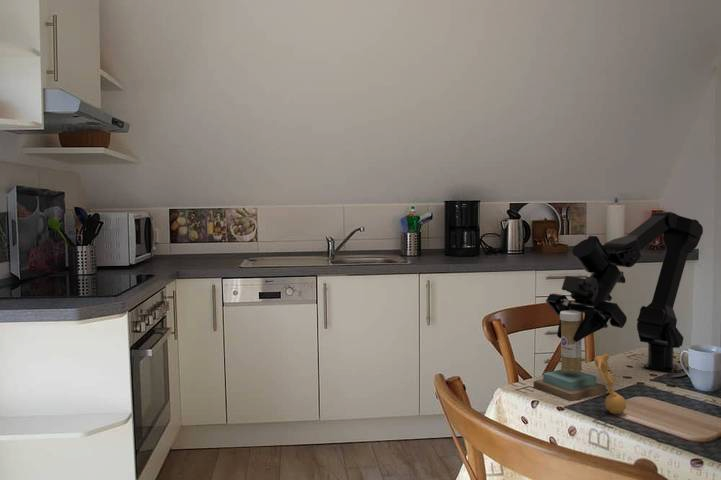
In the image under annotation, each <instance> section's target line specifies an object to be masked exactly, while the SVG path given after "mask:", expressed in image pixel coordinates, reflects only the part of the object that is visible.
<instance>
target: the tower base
mask: <svg viewBox="0 0 721 480" xmlns="http://www.w3.org/2000/svg"><path fill="white" fill-rule="evenodd" d="M542 376H543V378H542V379H538V380H534V381H533V388H534V389H536V388H537V389H536V390H538V391H539V390H540V391H542V392H543V393H544V392H546V393H547V394H550V395H553V396H556V397H559V398H561V399H564V400H566V401H570V402H574V401H578V400H581V399H586V398H589V397H593V396H597V395H601V394H605V393H607V385H606V384H605V385H604V384H601V383H600V382H599V383H598V382H597V376H596V375H592V374H589V373H585V372H583V371H580V372H566V371H563V370H562V369H557V370H552V371H548V372H544V373H543V375H542Z"/></svg>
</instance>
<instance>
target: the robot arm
mask: <svg viewBox="0 0 721 480" xmlns="http://www.w3.org/2000/svg"><path fill="white" fill-rule="evenodd" d="M703 227H704V226H703V225H702V224H701V223H700V221H698V219H696V218H695V219H694V218H693V219H692V218H690V217H689V218H688V217H685V216H682V215H679V214H676V213H675V212H672V211H656V212H653V213H652V214H651V216H650V217H649V218H648V219H647V220H644V221H643V223H641V224H640V225H638V226H637V227H635V229H633V230H632V231H630V232H629V233H627V235H624V236H622V237H617V238H613V239H611V240H609V241H607V242H605V243H604V244H602V243H601V241H600V239H599V237H598V236H597V235H596V236H595V235H589V236H588V237H587V239H586V238H585V239H584V240H582V241H580V242H579V243H577V244H575V245H574V247H573V248H572V255H573V257H575V259H576V260H577V262H578V263H579V264H580V265H581V267H582V268H583V270H584V271H585V272H587V273H591V274H590V276H587V275H586V277H585V278H582V277H578V276H577V277H576V276H570V275H565V277H564V280H563V283H562V287H561V290H562V291H566V292H568V293H570V298H571V299H572V300H574V301H571V300H570V299H569V298H568V297H567V295H565V294H562V293H561V294H560V293H549V295H548V296H547V298H546V299H545V302H546V303H547V304H548V306H549V307H550V308H551V309H552V310H553V311H554V313H555V314H556V315H557V316H559V317H560V312H561V311H568V310H571V311H579V312H581V314H584V316H583V317H584V318H583V320H581V324H580V326H579V328H578V330H577V331H576V333H575V335H574V338H573V340H574V341H575V342H578V341H579V340H581V341H582V340H583V339H584V338H586V337H588V336H589V335H591V334H594V333H596V332H597V331H600V330H602V329H604V328H605V329H607V328H608V327H609V324H610V325H611V326H612V327H614V328H620V329H623V328H624V326H625V325H626V323H627V322H628V321H627V319H628V318H627V315H626V314H625V312H624V311H623V310H622V309H621V307H620V306H619V304H618V303H617V302H611V301H612V299H613V297H612V296H611V293H612V292H613V290H614V288H615V286H616V285H617V284H620V283H621V284H626V277H625V274H624V273H625V272H624V271H621V270H620V269H619V267H622V268H632V267H634V265H635V264H636V263H637V262H639V260H640V259H641V257H642V251H643V250H644V249H645V248H647V247H648V246H649V245H650V244H652V243H653V242H654V241H655V240H656V239H658V238H660V236H662V241H663V244H664V246H665V254H664V257H663V260H662V263H661V267H660V272H659V275H658V278H657V281H656V285H655V289H654V293H653V297H652V299H651V301H650V303H649V304H648V305H647V306H645V305H642V306H641V307H640V309H639V314H638V317H637V319H636V330H637V333H638V338H639V342H640V343H647V346H648V347H647V348H648V349H647V363H646V364H644V365H643V368H644V369H648V370H655V371H660V372H665V373H666V372H667V373H672V372H673V371H674V370H676V369H677V368H678V364H674V348H676V349H679V348H680V347H682V346H683V342H684V336H683V335H682V333H681V332H680V331H679V329H678V328H677V322H678V318H677V316H676V314H675V310H674V307H675V306H674V305H675V303H676V299H677V295H678V291H679V288H680V284H681V280H682V277H683V273H684V270H685V265H686V261H687V259H688V255H689V254H690V253H691V252H692V251H694V250H695V249H696V248H697V247H698V245H699V242H700V240H701V238H702V236H703V233H704V228H703ZM608 322H609V324H608ZM556 335H557V336H556V337H558V338H559V339H561V320H560V319H559V323H558V329H557V334H556Z"/></svg>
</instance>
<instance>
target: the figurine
mask: <svg viewBox="0 0 721 480" xmlns="http://www.w3.org/2000/svg"><path fill="white" fill-rule="evenodd" d="M609 359H610V357H609V354H608V353H605V354H602V355H597V356H594V359H593V360H594V364H595V365H596V368H597V370H598V372H599V373H600V375H601V377H602V379H603V382H604V384H605V385H606V384H607V385H606V391H608V393H609V394H608V395H607V396H606V397H605V399H604V405H605V408H606V410H607V411H608V412H609V413H611V414H613V415H620V414H621V413H624V411H625V410H626V409H627V401H626V399H625V398H624V397H623V395H621V394H619V393H618V392H616V391H614V390H613V389H612V387H613V386H614V384H615V382H616V379H615V378H614V377H613V375H612V374H613V373H614V372H613V369H611V367H610V366H609V362H608V360H609ZM608 370H609V371H608Z"/></svg>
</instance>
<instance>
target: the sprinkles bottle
mask: <svg viewBox="0 0 721 480" xmlns="http://www.w3.org/2000/svg"><path fill="white" fill-rule="evenodd" d="M560 320H561V338H560V355H561V367H560V368H561V369H562V370H563V371H566V372H583V367H582V354H583V353H582V339H581V340H579V341H578V342H575V341H574V340H573V338H574V335H575V333H576V331H577V330H578V328H579V326H580V324H581V323H582V313H581V312H579V311H571V310H568V311H561V312H560V316H559V321H560ZM561 369H560V370H561Z"/></svg>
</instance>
